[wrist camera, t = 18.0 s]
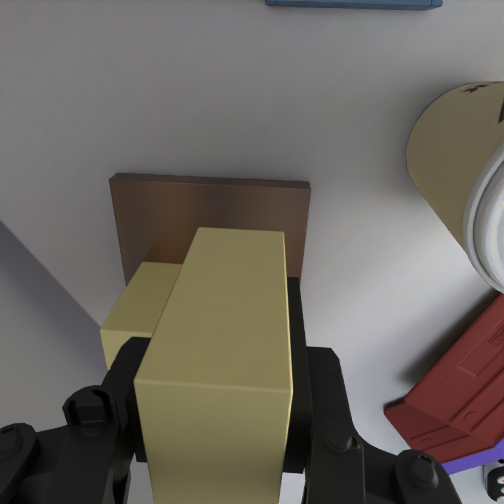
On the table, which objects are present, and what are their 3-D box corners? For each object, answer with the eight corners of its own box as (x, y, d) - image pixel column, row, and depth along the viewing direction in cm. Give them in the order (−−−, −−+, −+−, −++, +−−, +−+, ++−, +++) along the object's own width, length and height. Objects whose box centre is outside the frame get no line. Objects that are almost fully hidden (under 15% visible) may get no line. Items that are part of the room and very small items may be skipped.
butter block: (148, 312, 31) (110, 388, 24) (142, 261, 29) (98, 329, 22) (216, 317, 31) (199, 395, 24) (216, 265, 28) (197, 336, 21)
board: (136, 305, 33) (130, 316, 31) (116, 172, 27) (108, 178, 25) (294, 314, 32) (295, 326, 31) (309, 181, 26) (311, 188, 25)
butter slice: (201, 322, 17) (153, 505, 10) (198, 226, 15) (132, 380, 8) (275, 327, 17) (277, 514, 10) (283, 231, 15) (293, 391, 8)
